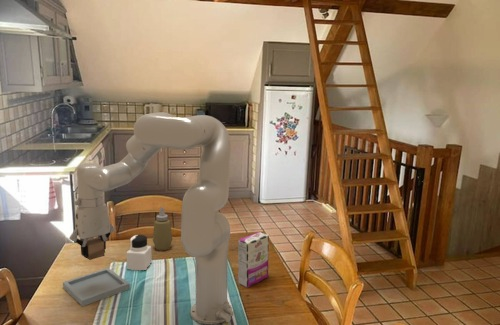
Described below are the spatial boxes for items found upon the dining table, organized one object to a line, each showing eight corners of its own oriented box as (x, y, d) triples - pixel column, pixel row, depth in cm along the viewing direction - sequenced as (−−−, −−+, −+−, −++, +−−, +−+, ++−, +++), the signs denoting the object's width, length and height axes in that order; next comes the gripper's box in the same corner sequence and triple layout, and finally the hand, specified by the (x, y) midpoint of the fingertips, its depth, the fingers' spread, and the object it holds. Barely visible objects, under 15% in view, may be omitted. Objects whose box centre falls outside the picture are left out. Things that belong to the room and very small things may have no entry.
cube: (104, 255, 132) (103, 241, 131) (89, 260, 128) (88, 245, 127) (97, 251, 135) (97, 237, 134) (83, 255, 132) (82, 241, 131)
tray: (129, 288, 134) (129, 283, 133) (82, 306, 123) (81, 300, 122) (108, 272, 145) (108, 267, 144) (63, 287, 134) (62, 282, 133)
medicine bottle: (151, 263, 153) (151, 233, 151) (145, 271, 146) (144, 240, 144) (134, 261, 154) (133, 232, 152) (126, 270, 147) (125, 239, 145)
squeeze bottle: (176, 247, 169) (175, 206, 166) (163, 253, 162) (162, 211, 159) (162, 242, 173) (161, 203, 170) (149, 249, 166) (147, 208, 163)
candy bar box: (258, 273, 147) (259, 231, 144) (268, 277, 144) (269, 234, 140) (236, 283, 139) (237, 239, 136) (247, 288, 136) (247, 243, 132)
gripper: (68, 209, 119) (72, 265, 123) (121, 199, 131) (123, 250, 135) (59, 204, 125) (63, 257, 128) (110, 194, 136) (113, 244, 140)
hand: (93, 253), depth 131 cm, fingers closed on cube, 5 cm apart
